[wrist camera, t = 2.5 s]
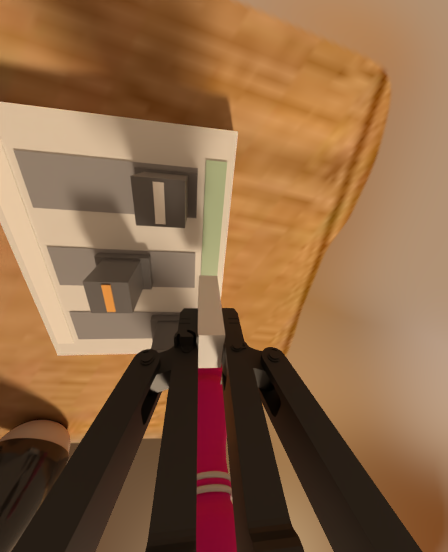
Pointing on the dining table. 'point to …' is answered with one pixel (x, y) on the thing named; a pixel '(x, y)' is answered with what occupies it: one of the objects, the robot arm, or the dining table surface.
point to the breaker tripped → (117, 282)
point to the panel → (107, 216)
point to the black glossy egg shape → (28, 474)
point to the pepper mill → (213, 469)
